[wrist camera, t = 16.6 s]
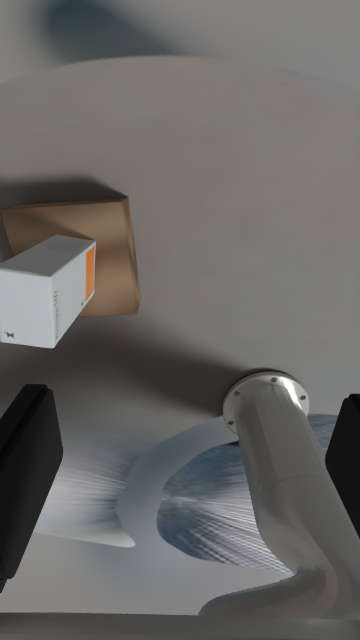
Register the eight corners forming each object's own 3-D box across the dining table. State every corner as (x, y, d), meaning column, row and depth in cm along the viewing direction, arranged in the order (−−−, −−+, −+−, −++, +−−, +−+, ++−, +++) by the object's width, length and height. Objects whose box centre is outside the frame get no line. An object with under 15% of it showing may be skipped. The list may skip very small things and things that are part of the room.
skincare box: (95, 294, 35) (53, 351, 24) (56, 288, 35) (-3, 344, 24) (97, 238, 32) (51, 276, 22) (55, 232, 32) (-13, 266, 22)
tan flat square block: (141, 296, 41) (136, 313, 36) (48, 302, 41) (32, 319, 37) (129, 196, 35) (121, 201, 31) (22, 203, 36) (-1, 209, 31)
